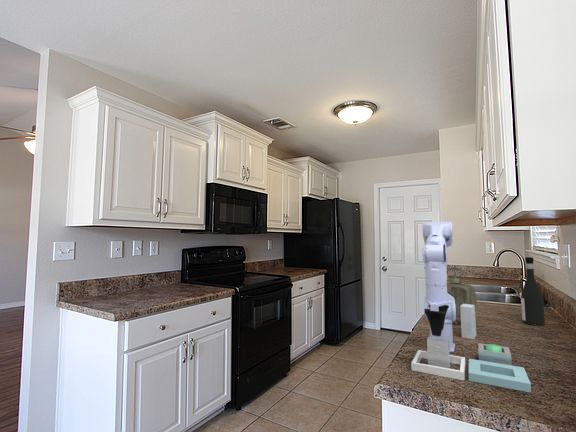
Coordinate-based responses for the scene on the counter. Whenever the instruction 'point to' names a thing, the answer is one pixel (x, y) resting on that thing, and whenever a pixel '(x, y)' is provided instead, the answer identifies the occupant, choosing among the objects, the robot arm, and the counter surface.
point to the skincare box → (468, 321)
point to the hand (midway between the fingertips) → (437, 332)
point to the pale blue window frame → (499, 375)
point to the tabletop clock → (460, 292)
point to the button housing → (495, 355)
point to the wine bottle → (532, 298)
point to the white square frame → (439, 370)
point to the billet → (438, 351)
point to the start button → (493, 347)
